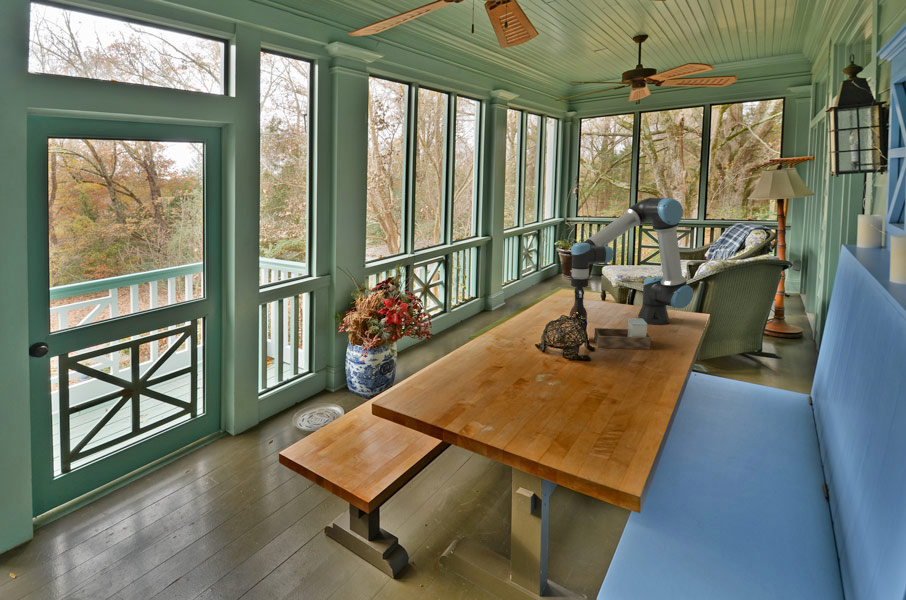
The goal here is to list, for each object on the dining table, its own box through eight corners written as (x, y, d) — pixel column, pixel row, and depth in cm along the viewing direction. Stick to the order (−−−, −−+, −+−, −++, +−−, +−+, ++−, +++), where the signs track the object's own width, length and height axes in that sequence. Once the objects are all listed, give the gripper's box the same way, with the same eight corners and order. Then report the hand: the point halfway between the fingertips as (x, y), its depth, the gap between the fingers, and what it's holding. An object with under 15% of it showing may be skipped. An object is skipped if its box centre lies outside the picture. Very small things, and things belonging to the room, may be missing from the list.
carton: (641, 338, 249) (642, 318, 246) (646, 345, 238) (647, 324, 236) (626, 338, 249) (628, 318, 247) (630, 345, 239) (632, 324, 237)
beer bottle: (576, 342, 247) (578, 290, 241) (565, 338, 253) (567, 287, 248) (589, 340, 250) (592, 289, 245) (578, 336, 257) (580, 286, 252)
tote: (643, 340, 250) (644, 329, 249) (649, 349, 237) (650, 338, 236) (594, 338, 253) (594, 328, 252) (597, 347, 240) (598, 336, 239)
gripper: (569, 273, 256) (567, 320, 261) (573, 281, 236) (570, 332, 241) (586, 273, 255) (583, 321, 260) (590, 281, 235) (588, 333, 240)
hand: (577, 326), depth 250 cm, fingers closed on beer bottle, 8 cm apart
